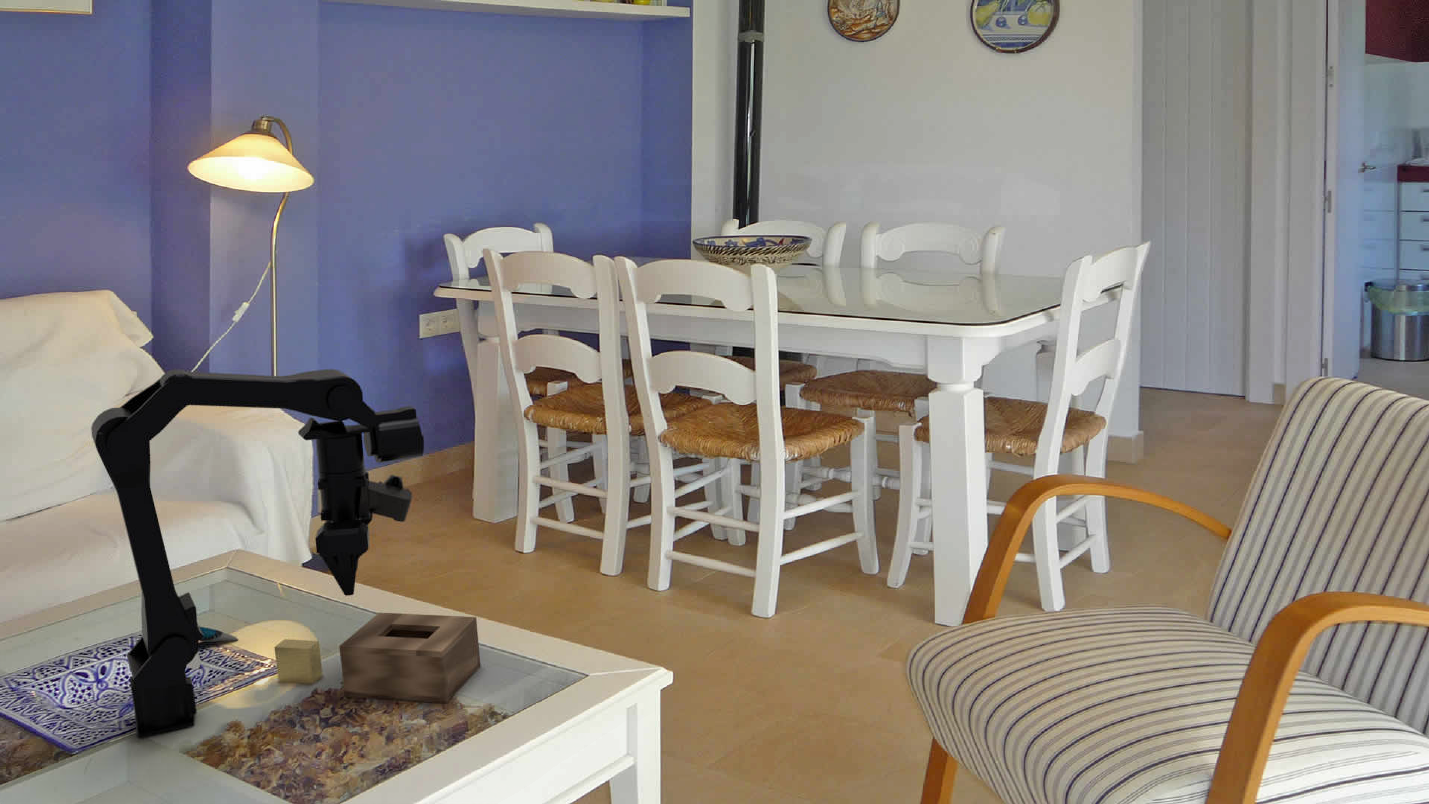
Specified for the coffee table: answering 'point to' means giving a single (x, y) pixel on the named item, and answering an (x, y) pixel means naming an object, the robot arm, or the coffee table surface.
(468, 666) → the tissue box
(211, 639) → the decorative butterfly
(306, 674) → the wooden plank piece
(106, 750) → the coffee table surface
